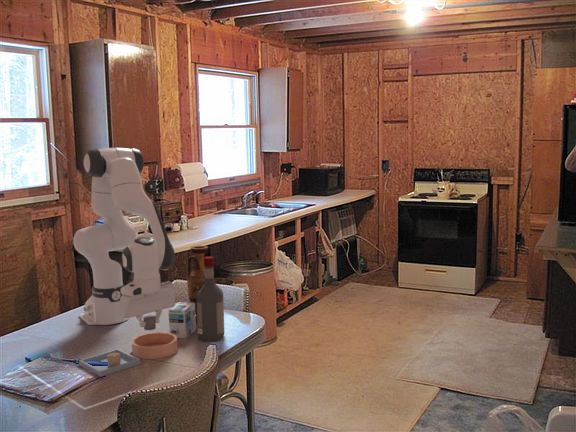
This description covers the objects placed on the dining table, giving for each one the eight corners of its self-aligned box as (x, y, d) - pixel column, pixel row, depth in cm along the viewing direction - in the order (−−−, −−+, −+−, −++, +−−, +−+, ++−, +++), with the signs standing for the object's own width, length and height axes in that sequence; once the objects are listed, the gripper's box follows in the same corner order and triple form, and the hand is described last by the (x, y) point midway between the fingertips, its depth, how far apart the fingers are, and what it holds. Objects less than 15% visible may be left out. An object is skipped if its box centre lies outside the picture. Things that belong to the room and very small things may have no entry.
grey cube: (141, 328, 207) (141, 317, 206) (151, 325, 209) (151, 314, 209) (148, 331, 204) (147, 319, 203) (158, 328, 207) (157, 316, 206)
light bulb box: (186, 338, 219) (185, 310, 217) (169, 338, 220) (167, 309, 219) (196, 329, 229) (195, 302, 228) (180, 328, 231) (178, 301, 229)
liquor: (224, 333, 224) (222, 254, 220) (223, 342, 215) (220, 259, 211) (200, 334, 224) (197, 255, 219) (197, 342, 215) (194, 260, 210)
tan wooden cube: (105, 367, 192) (104, 355, 191) (116, 363, 195) (116, 351, 194) (111, 370, 189) (111, 358, 188) (123, 366, 192) (122, 354, 191)
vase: (218, 317, 244) (215, 244, 240) (212, 325, 234) (209, 249, 230) (192, 316, 245) (189, 244, 241) (184, 325, 235) (181, 249, 231)
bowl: (124, 352, 206) (123, 340, 205) (161, 341, 216) (160, 329, 216) (148, 363, 195) (147, 350, 195) (186, 351, 206) (185, 339, 205)
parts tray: (79, 366, 194) (78, 360, 194) (118, 355, 204) (117, 348, 203) (100, 378, 184) (100, 371, 184) (140, 365, 194) (140, 359, 194)
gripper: (167, 278, 214) (169, 316, 216) (115, 289, 200) (118, 329, 202) (178, 281, 210) (180, 319, 212) (125, 292, 195) (128, 333, 197)
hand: (149, 324), depth 207 cm, fingers closed on grey cube, 4 cm apart
